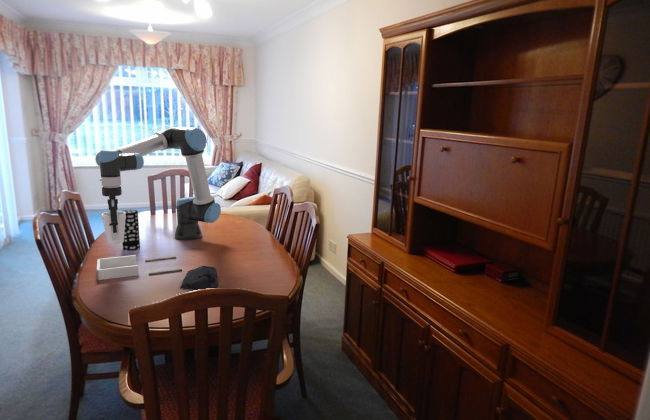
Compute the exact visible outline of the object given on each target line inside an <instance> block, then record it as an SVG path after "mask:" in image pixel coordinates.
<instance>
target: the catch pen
mask: <svg viewBox="0 0 650 420" xmlns="http://www.w3.org/2000/svg"><path fill="white" fill-rule="evenodd" d="M96 263H97V264H96V274H97V281H101V280H110V279H117V278H127V277H133V276H139V275H140V273H139V264H138V263H137V255H136V254H133V255H123V256H115V257H105V258H104V257H103V258H97V261H96Z"/></svg>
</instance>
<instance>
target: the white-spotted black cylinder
mask: <svg viewBox="0 0 650 420" xmlns="http://www.w3.org/2000/svg"><path fill="white" fill-rule="evenodd" d="M121 211H122V212H125V213H126V219H125V231H124V242H123V243H121V244H122V250H123V251H124V252H132V251H133V252H134V251H138V250H139V249H141V239H140V228H139V227H140V224H139V213H138V210H136V209H125V210H121Z"/></svg>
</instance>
